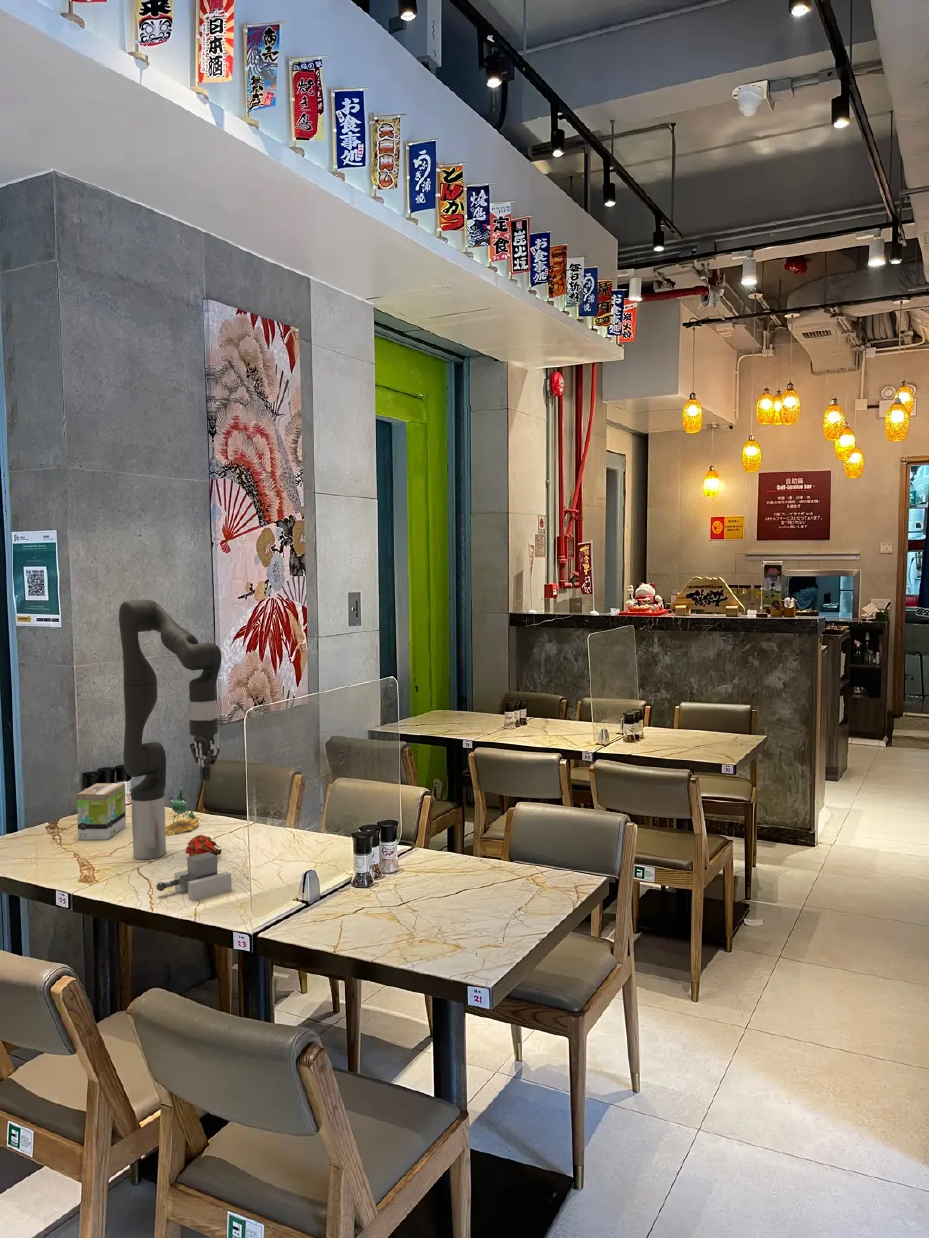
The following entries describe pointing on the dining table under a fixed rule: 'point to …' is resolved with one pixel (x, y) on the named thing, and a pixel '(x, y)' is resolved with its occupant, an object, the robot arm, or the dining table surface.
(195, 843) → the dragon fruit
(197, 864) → the steel block
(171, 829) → the frog figurine
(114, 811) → the tea box
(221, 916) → the dining table surface
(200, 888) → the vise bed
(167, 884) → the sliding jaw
